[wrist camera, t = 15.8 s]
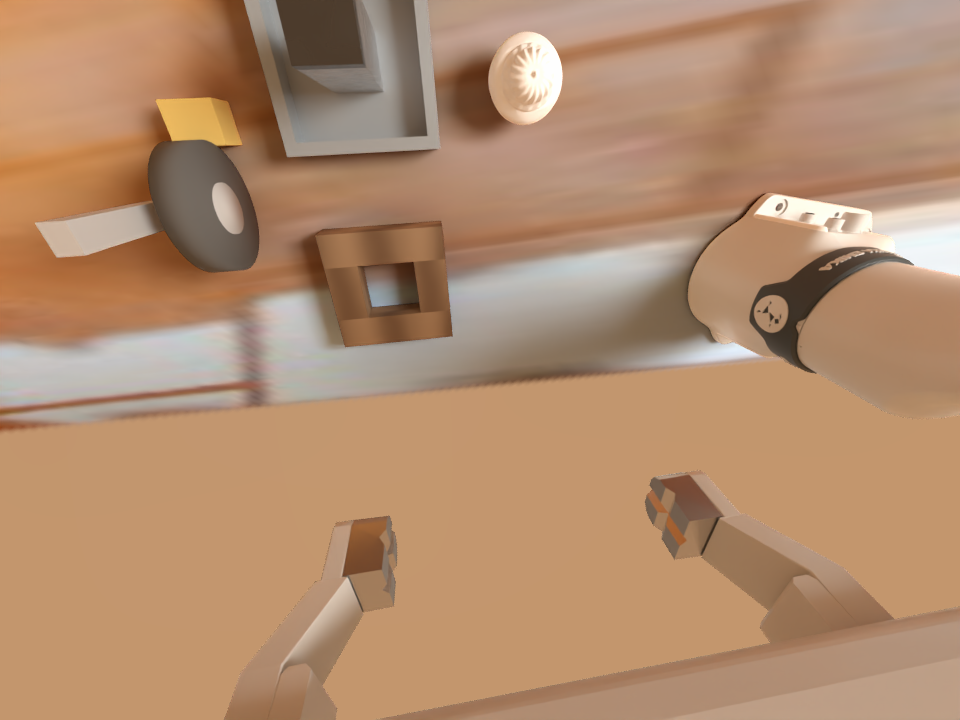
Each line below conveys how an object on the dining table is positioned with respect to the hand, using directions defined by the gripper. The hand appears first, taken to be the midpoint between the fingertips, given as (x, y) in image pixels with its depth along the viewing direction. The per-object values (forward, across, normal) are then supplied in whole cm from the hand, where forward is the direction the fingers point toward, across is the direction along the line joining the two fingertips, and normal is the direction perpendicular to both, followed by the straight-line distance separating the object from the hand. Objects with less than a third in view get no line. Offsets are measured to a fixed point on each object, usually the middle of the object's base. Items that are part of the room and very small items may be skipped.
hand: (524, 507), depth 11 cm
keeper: (+33, +7, +3) cm, 34 cm away
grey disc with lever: (+33, +21, -7) cm, 40 cm away
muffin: (+33, -7, -14) cm, 37 cm away
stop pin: (+32, +7, -16) cm, 37 cm away
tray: (+33, +7, -16) cm, 37 cm away
